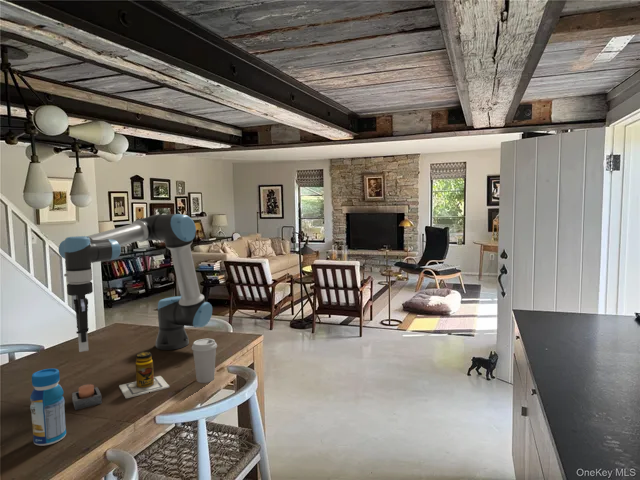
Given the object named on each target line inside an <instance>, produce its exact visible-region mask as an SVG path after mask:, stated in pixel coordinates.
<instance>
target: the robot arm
mask: <svg viewBox="0 0 640 480" xmlns="http://www.w3.org/2000/svg"><path fill="white" fill-rule="evenodd" d="M196 232H197V229H196V224H195V222H194V220H193V219H192V218H191V217H190V216H189V215H186V214H181V213H169V214H167V213H166V214H162V213H160V214H153V215H150V216H149V215H148V216H146V217H143V218H140V219H136V220H134V221H132V222H131V223H130V224H126V225H123V226H120V227H115V228H113V229H109V230H105V231H102V232H97V233H94V234H91V235H87V236H85V235H81V236H79V235H77V236H68V237H66V238H64V240H62V241H61V242H60V243H59V246H58V254H59V256H60V257H61V258H63V259H64V261H65V263H64V264H65V271H66V273H64V274H63V276H64V277H66V283H67V284H66V290H67V291H66V293H67V295H68V296H72V297H74V296H75V298H74V299H73V304H74V311H75V316H76V317H75V318H76V329H77V331H75V332H76V334H77V340H78V351H79V353H82V352H89V336H88V332H89V317H88V315H89V314H88V311H89V309H88V308H89V299H88V298H87V297H86V295H90V294H92V293H93V291H94V290H93V289H94V288H93V286H94V285H93V282H92V280H93V268H92V264H93V263H98V262H99V263H100V262H104V261H108V262H109V261H112V260H115V259H118V258H119V256H120V255H121V250H122V249H121V247H122V246H126V245H128V244H133V243H136V242H139V243H143V242H146V241H161V242H162V241H164V244H165V248H166V249H168V250H170V254H171V259H172V262H173V263H172V264H173V268H174V272H175V276H176V280H177V285H178V289H179V293H180V295H178V296H176V295H175V296H171V297H165V298H163V299H159V301H158V302H157V318H158V321H157V322H158V333H157V336H156V338H155V339H156V340H155V348H156V349H157V350H161V351H162V350H163V351H172V350H178V349H181V348H185V347H187V346H188V345H189V344H190V343H189V340H190V339H189V336H188V334H187V331H186V329H185V327H194V328H203V327H205V326H207V325H208V324H209V323H210V321H211V318H212V315H213V306H212V304H211V303H210V302H208V301H206V298H205V295H204V294H203V293H201V291H200V286H199V280H198V277H197V272H196V268H195V262H194V257H193V253H192V249H191V245H192V244H193V240H194V239H195V237H196Z"/></svg>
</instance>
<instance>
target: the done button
mask: <svg viewBox="0 0 640 480" xmlns="http://www.w3.org/2000/svg"><path fill="white" fill-rule="evenodd" d="M94 388H95V385H94V384H93V383H86V384H83V385H80V386H79V387H78V391H79V398H86V397H90V396H93V395H94Z"/></svg>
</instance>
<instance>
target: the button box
mask: <svg viewBox="0 0 640 480" xmlns="http://www.w3.org/2000/svg"><path fill="white" fill-rule="evenodd" d="M71 396H72V404H73V408H74V409H75V410H74V411H77V410H82V409H84V408H89V407H94V406H97V405H100V404H101V405H102V404H103V402H102V400H103V399H102V393H101V391H100V390H99V387H98V386H96V387H94V395H93V396H90V397H86V398H79V390H78V391H75V392H71Z"/></svg>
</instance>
